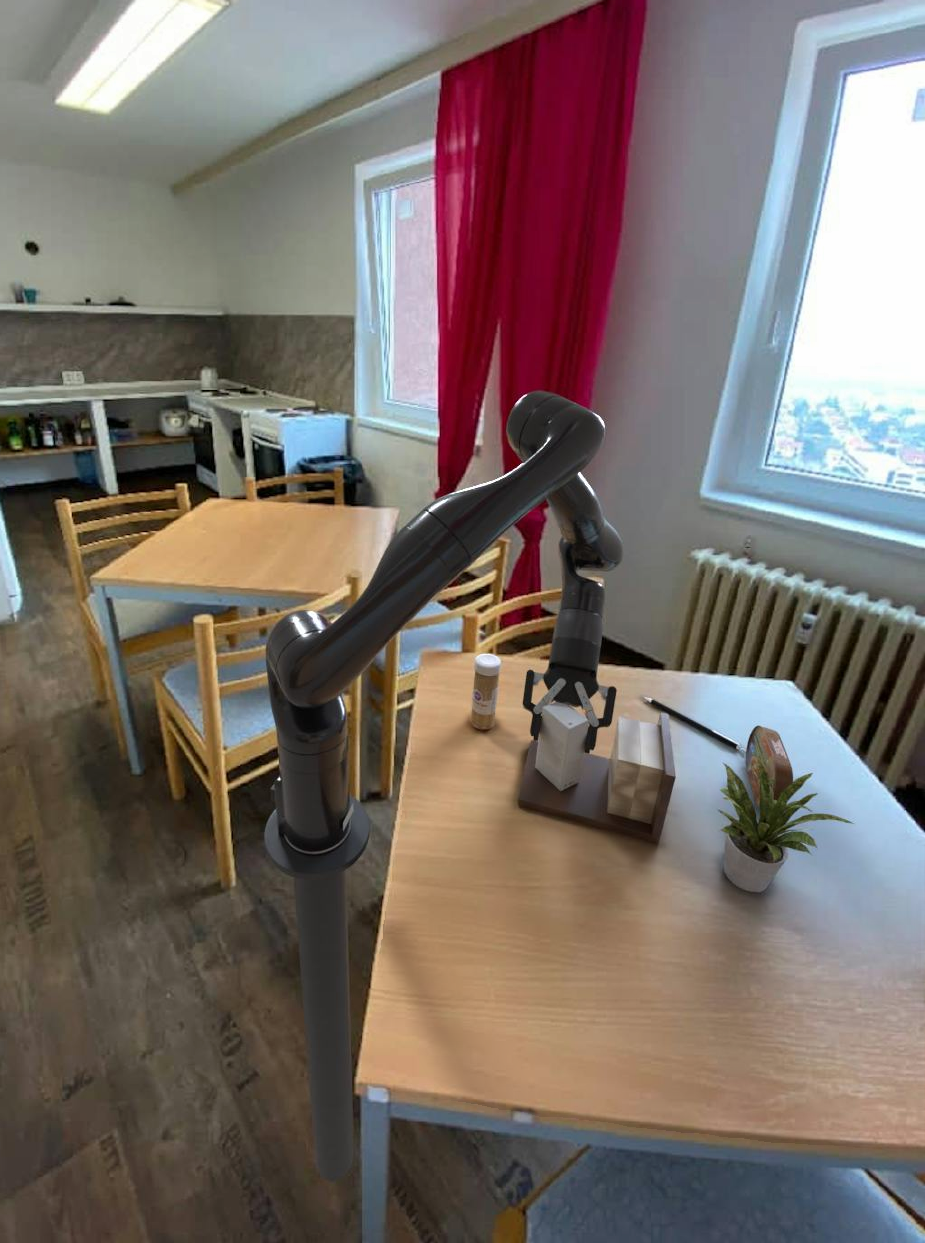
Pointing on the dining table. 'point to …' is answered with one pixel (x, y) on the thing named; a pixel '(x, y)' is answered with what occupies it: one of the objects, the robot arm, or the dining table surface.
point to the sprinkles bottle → (485, 691)
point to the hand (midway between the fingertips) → (561, 746)
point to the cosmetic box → (561, 744)
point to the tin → (768, 761)
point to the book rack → (613, 783)
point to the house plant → (763, 830)
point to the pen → (697, 725)
